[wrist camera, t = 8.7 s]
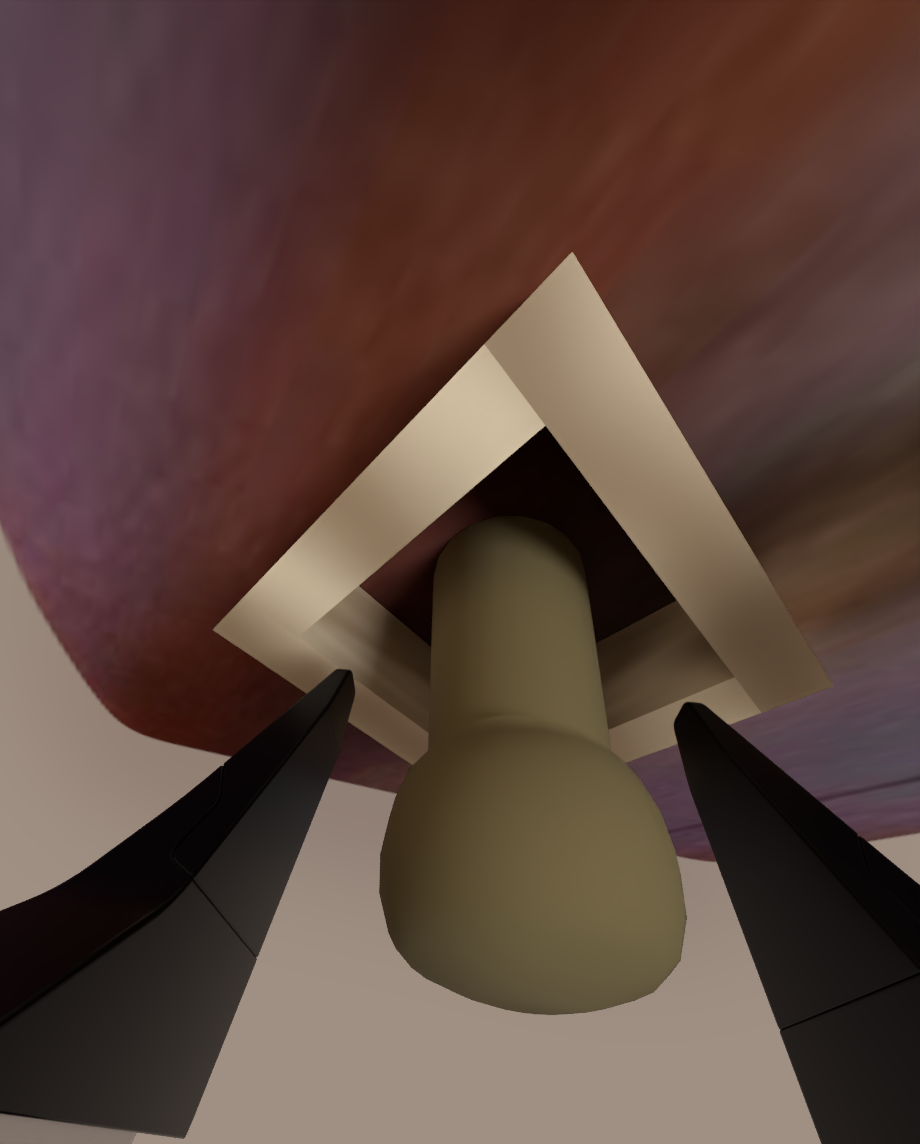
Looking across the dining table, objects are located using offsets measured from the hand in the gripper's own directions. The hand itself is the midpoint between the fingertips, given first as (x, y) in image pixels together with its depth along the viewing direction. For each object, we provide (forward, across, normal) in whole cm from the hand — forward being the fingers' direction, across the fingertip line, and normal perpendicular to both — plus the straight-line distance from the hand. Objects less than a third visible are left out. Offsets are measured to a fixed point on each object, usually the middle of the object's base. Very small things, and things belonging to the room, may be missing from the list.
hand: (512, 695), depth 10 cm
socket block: (+6, 0, 0) cm, 6 cm away
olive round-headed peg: (+6, 0, 0) cm, 6 cm away
